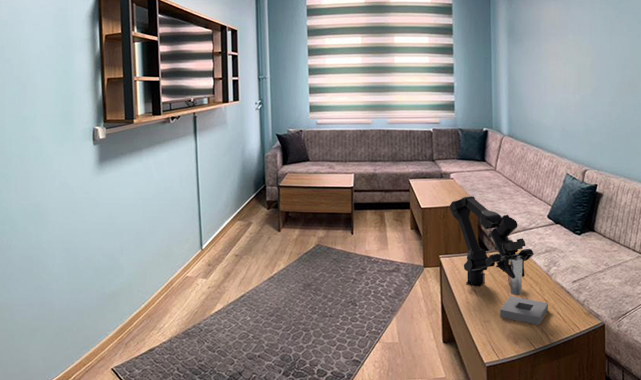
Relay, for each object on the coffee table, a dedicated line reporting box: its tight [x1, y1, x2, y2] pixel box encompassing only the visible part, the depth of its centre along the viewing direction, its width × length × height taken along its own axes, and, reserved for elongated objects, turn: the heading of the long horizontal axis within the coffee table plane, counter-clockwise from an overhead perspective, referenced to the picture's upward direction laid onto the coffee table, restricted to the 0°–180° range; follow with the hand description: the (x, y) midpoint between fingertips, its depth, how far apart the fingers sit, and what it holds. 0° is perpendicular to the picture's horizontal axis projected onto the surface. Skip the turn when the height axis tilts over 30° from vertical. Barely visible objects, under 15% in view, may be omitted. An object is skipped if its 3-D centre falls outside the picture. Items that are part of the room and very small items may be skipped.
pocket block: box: [499, 295, 549, 326], centre depth 197 cm, size 14×14×3 cm
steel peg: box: [510, 257, 523, 296], centre depth 199 cm, size 4×4×14 cm
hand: (518, 277), depth 198 cm, fingers closed on steel peg, 4 cm apart
